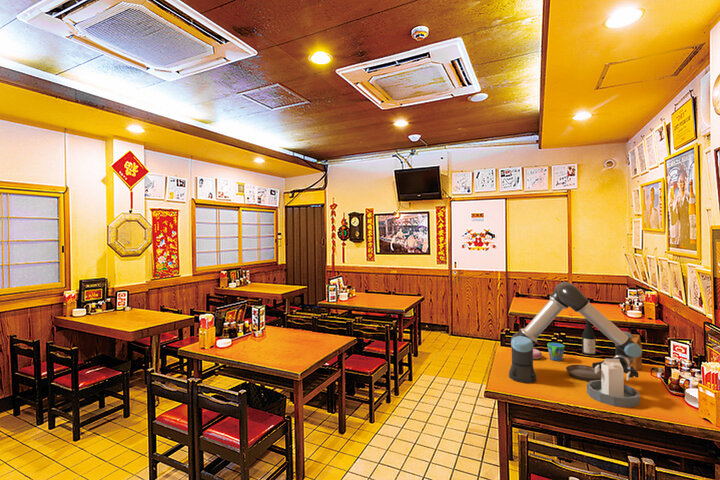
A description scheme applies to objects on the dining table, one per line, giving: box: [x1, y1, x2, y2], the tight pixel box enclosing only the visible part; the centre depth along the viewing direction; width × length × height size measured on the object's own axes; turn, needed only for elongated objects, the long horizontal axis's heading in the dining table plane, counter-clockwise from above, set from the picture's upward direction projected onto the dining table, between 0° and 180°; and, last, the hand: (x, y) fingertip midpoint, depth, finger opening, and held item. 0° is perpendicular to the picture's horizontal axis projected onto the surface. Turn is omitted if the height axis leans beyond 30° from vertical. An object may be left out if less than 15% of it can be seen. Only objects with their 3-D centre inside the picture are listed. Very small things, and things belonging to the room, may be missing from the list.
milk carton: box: [601, 358, 625, 397], centre depth 187 cm, size 7×7×19 cm
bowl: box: [586, 380, 641, 408], centre depth 186 cm, size 22×22×4 cm
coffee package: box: [629, 333, 643, 371], centre depth 228 cm, size 10×12×22 cm
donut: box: [533, 348, 543, 360], centre depth 250 cm, size 14×13×5 cm
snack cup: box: [547, 342, 566, 362], centre depth 244 cm, size 16×11×10 cm
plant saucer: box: [565, 364, 601, 382], centre depth 215 cm, size 21×21×3 cm
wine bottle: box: [581, 318, 596, 356], centre depth 254 cm, size 8×8×30 cm
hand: (610, 374), depth 184 cm, fingers open, 13 cm apart
